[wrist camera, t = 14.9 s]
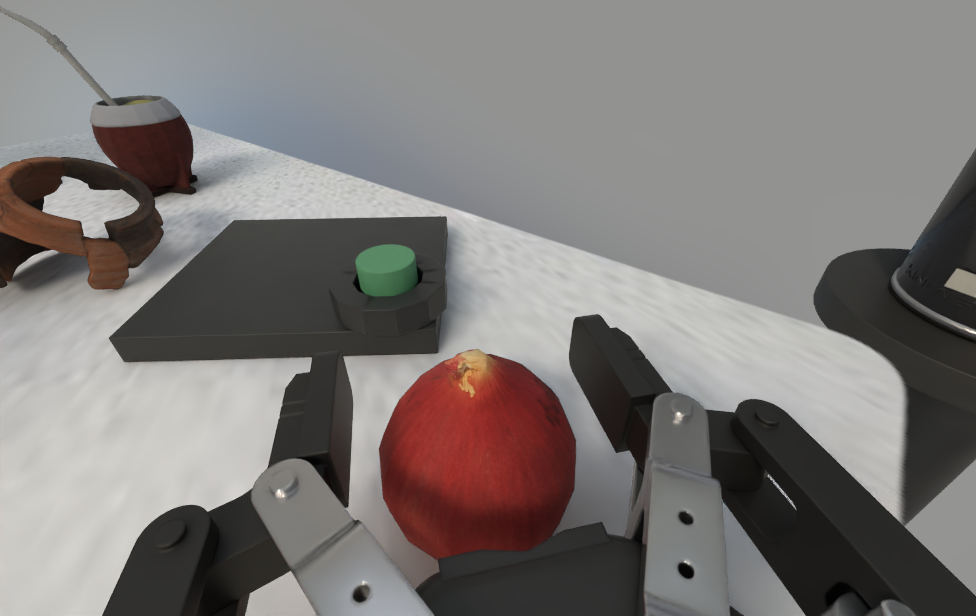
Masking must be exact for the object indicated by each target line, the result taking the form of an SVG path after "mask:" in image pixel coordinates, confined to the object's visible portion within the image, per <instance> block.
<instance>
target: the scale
mask: <svg viewBox="0 0 976 616" xmlns="http://www.w3.org/2000/svg"><path fill="white" fill-rule="evenodd" d="M447 237H448V233H447V217H391V218H335V219H280V220H234V221H233V222H232V223H231V224H230V225H228V226H227V227H226V228H225V229H224V230H223V231H222V232H221V233H220V234H219V235H218V236H217V237H216V238H215V239H214V240H213V241H211V242H210V243H209V244H208V245H207V246H206V247H205V248H204V249H203V250H202V251H201V252H200V253H199V254H198V255H197V256H195V257H194V258H193V259H192V260H191V261H190V262H189V263H188V264H187V265H186V266H185V267H184V268H183V269H182V270H181V271H180V272H178V273H177V274H176V275H175V276H174V277H173V278H172V279H171V280H170V281H169V282H168V283H167V284H166V285H165V286H164V287H163V288H161V289H160V290H159V291H158V292H157V293H156V294H155V295H154V296H153V297H152V298H151V299H150V300H149V301H148V302H147V303H146V304H144V305H143V306H142V307H141V308H140V309H139V310H138V311H137V312H136V313H135V314H134V315H133V316H132V317H131V318H130V319H128V320H127V321H126V322H125V323H124V324H123V325H122V326H121V327H120V328H119V329H118V330H117V331H116V332H115V333H114V334H113V335H111V336H110V337H109V339H110V341H111V342H112V344H113V346H114V347H115V349H116V350H117V352H118V353H119V355H120V356H121V358H122V359H123V361H124V362H139V361H175V360H211V359H246V358H282V357H313V355H314V354H316V353H324V352H331V351H338V350H340V351H341V352H342V355H343V356H353V355H389V354H425V353H438V346H439V334H440V322H441V313H442V312H443V311H444V310H445V309H446V302H447V283H446V270H445V261H446V249H447ZM389 244H392V245H401V246H405V247H408V248H410V249H411V250H412V251H413V252H414V254H415V257H416V266H417V275H418V282H417V285H416V287H415V288H413V289H412V290H411V291H408V292H405V293H402V294H398V295H395V296H375V297H373V296H370V295H367V294H365V293H364V292H363V291H362V290H361V287H360V283H359V278H358V273H357V268H356V263H355V261H356V258H357V256H358V255H359V254H360V253H362V252H363V251H365V250H367V249H369V248H372V247H375V246H380V245H389Z"/></svg>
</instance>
